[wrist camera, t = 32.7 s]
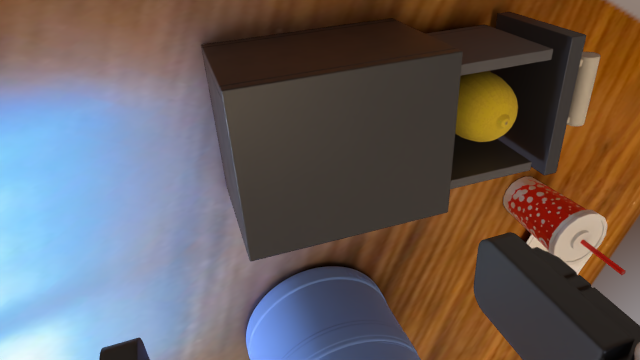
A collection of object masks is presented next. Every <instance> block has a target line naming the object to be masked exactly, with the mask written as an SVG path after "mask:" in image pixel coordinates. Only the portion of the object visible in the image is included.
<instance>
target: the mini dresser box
mask: <svg viewBox="0 0 640 360" xmlns="http://www.w3.org/2000/svg"><path fill="white" fill-rule="evenodd" d="M426 34H427V35H429V36H431V37H433V38H435V39H437V40H439V41H442V42H444V43H446V44H448V45H450V46H452V47H454V48H456V49H458V50H461V51H462V52H463V55H462V66H461V76H462V75H467V74H473V73H479V72H484V71H490V72H492V73H494V74H496V75H497V76H499V77H501V78H502V79H503V80H504V81H505V82H506V83H507V84H508V85H509V86H510V87H511V89H512V90H513V92H514V94H515V96H516V98H517V103H518V111H517V117H516V120H515V122H514V124H513V125H512V127H511V128H510V129H509V131H508V132H506V133H505V134H504V135H503V136H501V137H499V138H497V139H495V140H492V141H488V142H476V141H472V140H468V139H465V138H462V137H460V136H459V135H457V134H455V141H454V152H453V163H452V173H451V184H450V189H453V188H457V187H461V186H465V185H470V184H474V183H478V182H482V181H486V180H491V179H495V178H499V177H503V176H507V175H512V174H516V173H520V172H524V171H528V170H530V169H531V167H533V168H534V169H536V170H537V171H539V172H540V173H542V174H543V175H548V174H552V173H556V170H557V166H558V161H559V157H560V152H561V148H562V143H563V138H564V134H565V129H566V125H567V124H568V125H571V126H582V125H583V124H584V122H585V118H586V114H587V110H588V106H589V101H590V97H591V93H592V89H593V85H594V81H595V76H596V72H597V68H598V64H599V60H600V55H599V54H597V53H594V52H583V47H584V43H585V38H586V35H584V34H581V33H578V32H575V31H571V30H568V29H565V28H561V27H558V26H555V25H551V24H548V23H545V22H541V21H538V20H535V19H531V18H528V17H525V16H522V15H518V14H515V13H512V12H504V13H498V14H497V22H496V28H493V27H490V26H487V25H479V26H473V27H466V28H459V29H453V30H446V31H439V32H433V33H426Z"/></svg>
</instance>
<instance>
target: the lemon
mask: <svg viewBox="0 0 640 360" xmlns="http://www.w3.org/2000/svg"><path fill="white" fill-rule="evenodd" d="M517 111H518V103H517V98H516V96H515V94H514V92H513V90H512V89H511V87H510V86H509V85H508V84H507V83H506V82H505V81H504V80H503V79H502V78H501V77H499V76H497V75H496V74H494V73H492V72H489V71H484V72H479V73H473V74H467V75H462V76H461V77H460V87H459V98H458V109H457V120H456V130H455V134H457V135H459V136H460V137H462V138H465V139H468V140H472V141H476V142H488V141H492V140H495V139H497V138H499V137H501V136H503V135H504V134H505V133H506V132H508V131H509V129H510V128H511V127H512V125H513V124H514V122H515V120H516V117H517Z"/></svg>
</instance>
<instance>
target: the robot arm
mask: <svg viewBox="0 0 640 360" xmlns="http://www.w3.org/2000/svg"><path fill="white" fill-rule="evenodd" d="M474 293H475V297H476V300H477V303H478V305H479V307H480V308H481V310H482V311H483V312H484V314H485V315H486V316H487V317H488V318H489V320H490V321H491V322H492V323H493V324H494V326H495V327H496V328H497V329H498V330H499V332H500V333H501V334H502V335H503V336H504V338H505V339H506V340H507V341H508V342H509V344H510V345H511V346H512V347H513V348H514V350H515V351H516V352H517V353H518V354H519V355H520V357H521V358H522V359H523V360H640V326H639V325H638V324H637V323H635V322H634V321H633V320H632V319H631V318H630V317H629V316H627V315H626V314H625V313H624V312H623V311H621V310H620V309H619V308H618V307H617V306H616V305H614V304H613V303H612V302H611V301H610V300H609V299H607V298H606V297H605V296H604V295H603V294H601V293H600V292H599V291H598V290H597V289H595V288H592V287H591V284H590V283H589V282H587V281H586V280H585V279H584V278H583V277H581V276H580V275H579V276H578V275H577V273H576V271H574V270H573V269H572V268H571V267H570V266H569V265H567V264H566V263H565V262H564V261H563V260H562V259H560V258H559V257H557V256H555V255H553V254H551V253H549V252H547V251H545V250H542V249H540V248H538V247H535V248H531V247H530V246H529V245H528V244H527V243H525V242H524V241H523V240H522V239H521V238H520V237H519V236H517V235H516V234H514V233H506V234H502V235H499V236H495V237H492V238H488V239H485V240H482V241H481V242H480V244H479V247H478V254H477V263H476V271H475V280H474ZM100 360H150V359H149V357H148V354H147V352H146V349H145V346H144V344H143V342H142V340H141V338H136V339H132V340H129V341H125V342H122V343H118V344H115V345H111V346H108V347H104V348H102V349H101V352H100Z"/></svg>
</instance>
